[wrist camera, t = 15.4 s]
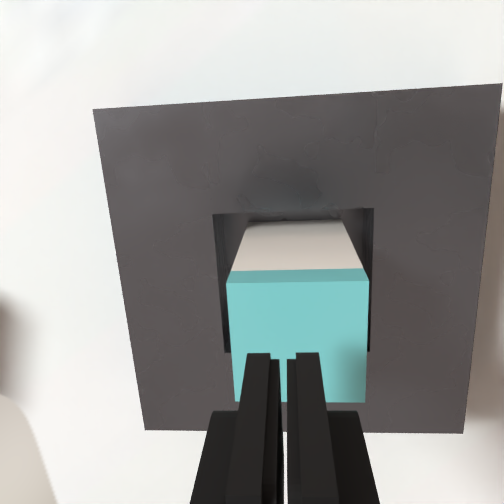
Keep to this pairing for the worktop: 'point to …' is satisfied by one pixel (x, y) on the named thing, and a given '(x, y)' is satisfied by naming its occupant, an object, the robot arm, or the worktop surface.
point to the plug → (300, 303)
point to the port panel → (298, 209)
